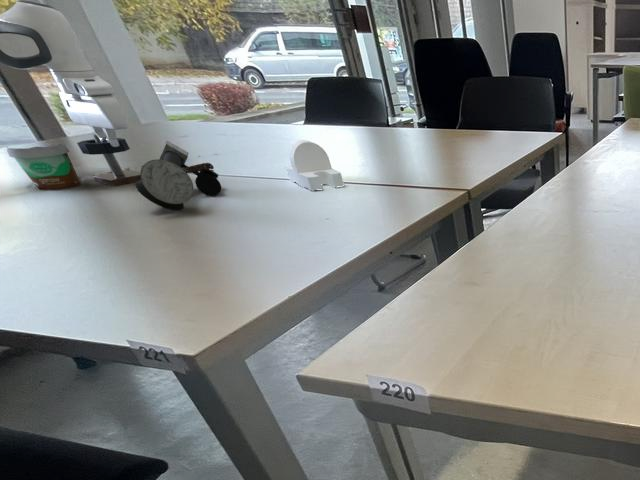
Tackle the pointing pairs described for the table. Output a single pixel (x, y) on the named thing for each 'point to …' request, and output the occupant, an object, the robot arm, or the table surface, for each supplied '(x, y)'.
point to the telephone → (175, 179)
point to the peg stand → (115, 171)
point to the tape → (102, 147)
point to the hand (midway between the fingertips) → (111, 145)
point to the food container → (47, 166)
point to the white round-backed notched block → (311, 166)
